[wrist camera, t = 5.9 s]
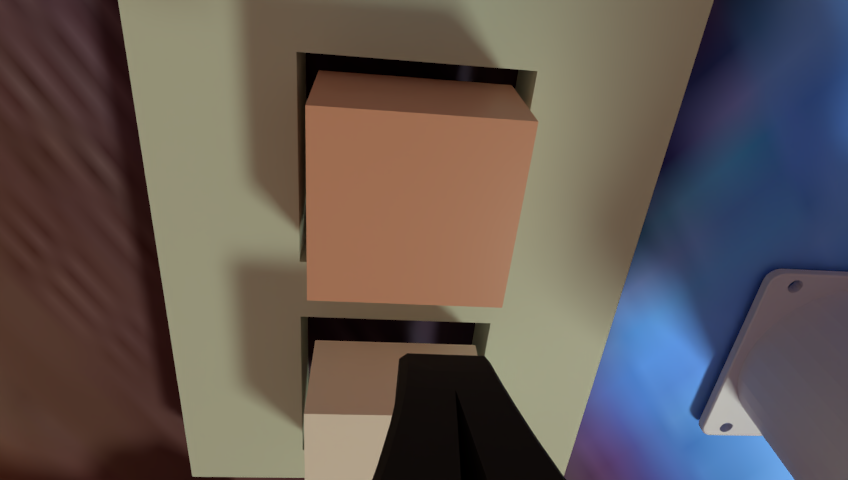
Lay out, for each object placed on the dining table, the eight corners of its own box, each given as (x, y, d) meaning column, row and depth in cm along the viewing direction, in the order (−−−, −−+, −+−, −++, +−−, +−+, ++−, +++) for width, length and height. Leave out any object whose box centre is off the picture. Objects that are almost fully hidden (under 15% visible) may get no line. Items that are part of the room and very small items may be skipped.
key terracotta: (511, 85, 15) (538, 121, 13) (484, 248, 18) (502, 307, 15) (318, 70, 15) (305, 105, 12) (318, 241, 17) (306, 300, 15)
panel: (786, -396, 12) (854, -447, 10) (549, 439, 24) (562, 479, 23) (82, -516, 11) (24, -598, 9) (206, 434, 23) (192, 476, 21)
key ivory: (475, 344, 18) (490, 417, 16) (456, 453, 21) (467, 531, 18) (315, 340, 18) (303, 413, 15) (315, 452, 20) (305, 531, 18)
